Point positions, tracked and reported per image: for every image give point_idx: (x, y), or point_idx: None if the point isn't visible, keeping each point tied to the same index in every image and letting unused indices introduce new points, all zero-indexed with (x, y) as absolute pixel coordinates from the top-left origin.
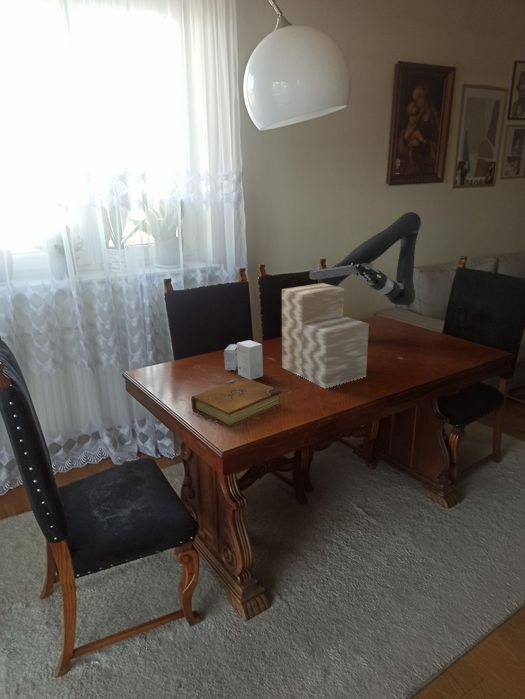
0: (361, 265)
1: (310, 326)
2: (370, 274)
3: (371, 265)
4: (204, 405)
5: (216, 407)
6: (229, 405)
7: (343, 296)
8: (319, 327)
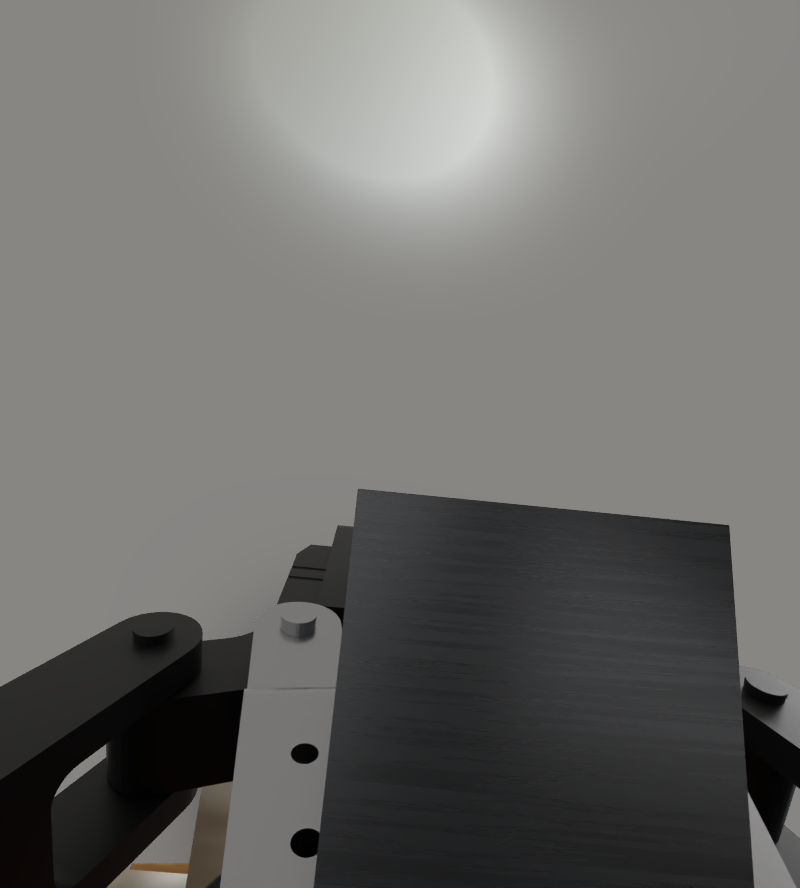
0: (332, 556)
1: (184, 877)
2: (77, 787)
3: (352, 577)
4: None
5: (179, 865)
6: None
7: (189, 867)
8: (125, 885)
